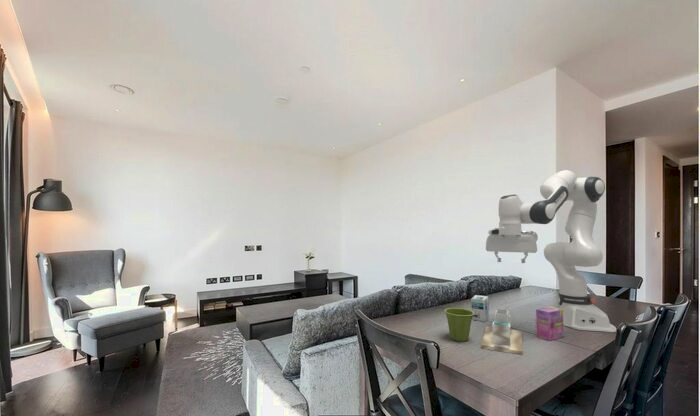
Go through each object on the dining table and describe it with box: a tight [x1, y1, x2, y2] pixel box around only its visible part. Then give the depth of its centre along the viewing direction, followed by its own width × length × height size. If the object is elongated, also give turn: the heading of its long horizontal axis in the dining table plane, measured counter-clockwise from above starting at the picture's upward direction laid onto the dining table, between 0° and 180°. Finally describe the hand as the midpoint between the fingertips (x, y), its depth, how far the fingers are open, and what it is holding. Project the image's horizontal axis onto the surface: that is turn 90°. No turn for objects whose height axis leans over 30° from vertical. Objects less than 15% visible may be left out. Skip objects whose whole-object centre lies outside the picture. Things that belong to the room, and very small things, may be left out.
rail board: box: [480, 312, 524, 356], centre depth 130 cm, size 14×26×9 cm, turn 153°
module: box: [495, 308, 509, 323], centre depth 130 cm, size 4×7×10 cm, turn 152°
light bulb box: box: [470, 294, 490, 323], centre depth 162 cm, size 11×7×11 cm, turn 147°
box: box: [535, 305, 565, 342], centre depth 134 cm, size 10×6×12 cm, turn 118°
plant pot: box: [444, 307, 474, 342], centre depth 132 cm, size 12×12×11 cm
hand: (511, 262), depth 139 cm, fingers open, 8 cm apart
